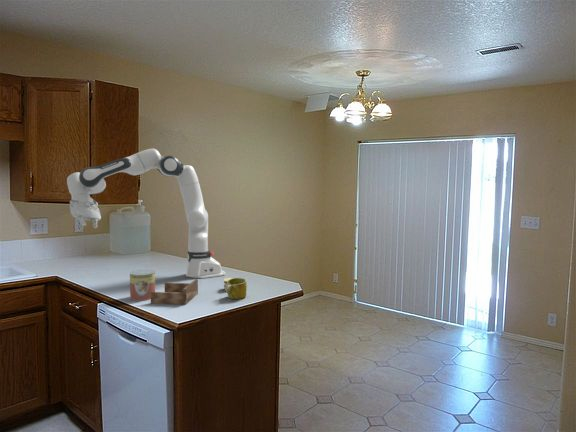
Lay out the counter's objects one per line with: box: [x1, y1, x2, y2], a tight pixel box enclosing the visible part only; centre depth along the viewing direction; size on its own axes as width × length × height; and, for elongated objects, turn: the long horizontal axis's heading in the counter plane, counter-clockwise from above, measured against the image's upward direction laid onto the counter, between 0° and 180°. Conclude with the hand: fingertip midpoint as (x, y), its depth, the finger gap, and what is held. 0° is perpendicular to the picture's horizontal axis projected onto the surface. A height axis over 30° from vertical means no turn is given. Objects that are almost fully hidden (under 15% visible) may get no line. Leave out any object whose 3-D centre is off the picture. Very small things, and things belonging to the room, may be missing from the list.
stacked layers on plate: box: [223, 277, 233, 290], centre depth 219 cm, size 10×9×6 cm
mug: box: [225, 277, 248, 300], centre depth 204 cm, size 12×10×10 cm
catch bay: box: [150, 278, 199, 305], centre depth 202 cm, size 16×18×7 cm
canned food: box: [129, 269, 156, 302], centre depth 203 cm, size 11×11×12 cm
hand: (90, 226), depth 222 cm, fingers open, 8 cm apart
